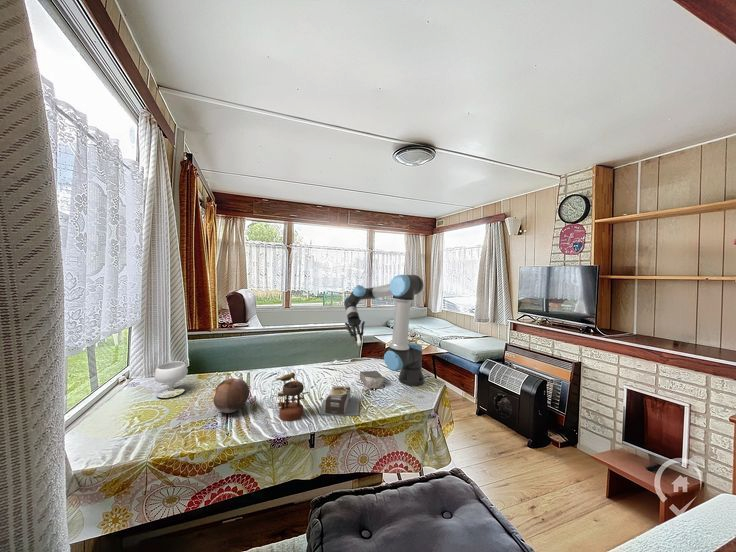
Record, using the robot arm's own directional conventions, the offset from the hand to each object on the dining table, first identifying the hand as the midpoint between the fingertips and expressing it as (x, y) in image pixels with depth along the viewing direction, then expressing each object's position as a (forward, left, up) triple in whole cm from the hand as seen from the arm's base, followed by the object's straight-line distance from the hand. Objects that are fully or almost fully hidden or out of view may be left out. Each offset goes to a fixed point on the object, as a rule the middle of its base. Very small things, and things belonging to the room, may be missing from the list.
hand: (359, 344), depth 161 cm
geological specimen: (-8, -1, -24) cm, 25 cm away
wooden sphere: (+58, +33, -23) cm, 71 cm away
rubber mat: (+8, +28, -23) cm, 37 cm away
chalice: (+96, +18, -23) cm, 100 cm away
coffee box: (+8, +19, -19) cm, 28 cm away
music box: (+29, +35, -23) cm, 51 cm away
